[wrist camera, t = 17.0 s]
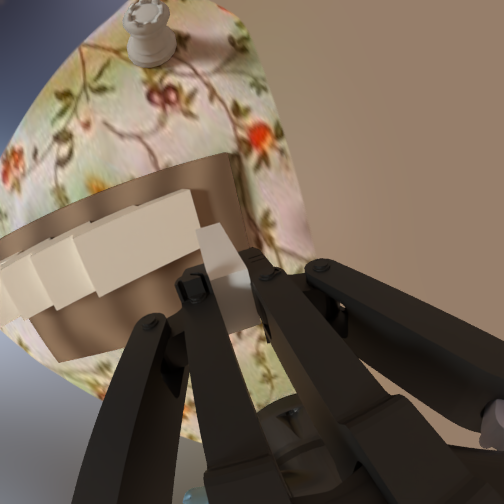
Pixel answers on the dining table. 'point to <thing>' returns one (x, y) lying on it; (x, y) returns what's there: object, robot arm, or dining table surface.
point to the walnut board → (145, 287)
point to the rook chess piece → (149, 33)
